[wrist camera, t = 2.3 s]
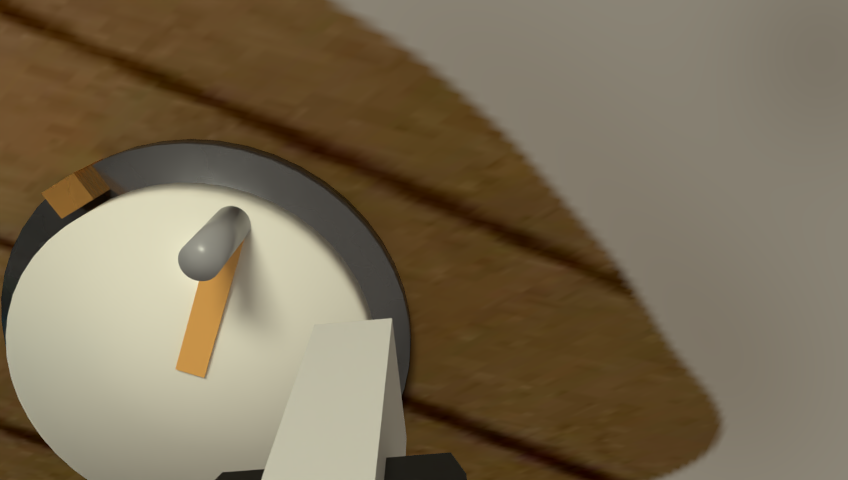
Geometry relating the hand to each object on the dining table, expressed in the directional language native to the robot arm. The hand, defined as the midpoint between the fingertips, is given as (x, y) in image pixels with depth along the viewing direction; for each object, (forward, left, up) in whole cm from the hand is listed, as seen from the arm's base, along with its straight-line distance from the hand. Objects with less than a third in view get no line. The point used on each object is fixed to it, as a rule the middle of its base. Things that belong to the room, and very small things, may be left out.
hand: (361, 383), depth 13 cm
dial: (+2, -11, -15) cm, 19 cm away
